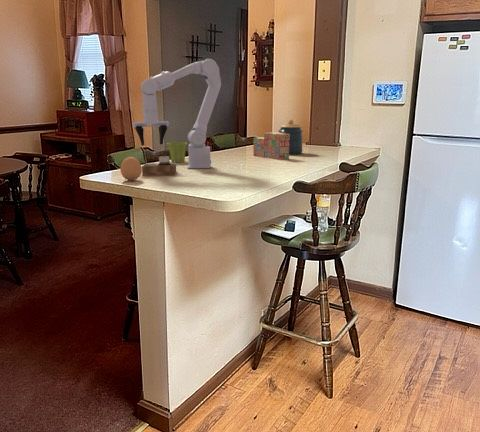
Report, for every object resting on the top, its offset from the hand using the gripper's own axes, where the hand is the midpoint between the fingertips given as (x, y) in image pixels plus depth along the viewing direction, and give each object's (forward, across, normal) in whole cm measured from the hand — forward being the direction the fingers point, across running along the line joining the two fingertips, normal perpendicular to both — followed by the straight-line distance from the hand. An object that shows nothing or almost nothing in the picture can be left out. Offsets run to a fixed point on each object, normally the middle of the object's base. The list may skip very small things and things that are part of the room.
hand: (152, 144), depth 193 cm
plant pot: (+10, -16, -20) cm, 27 cm away
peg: (+7, -1, +13) cm, 15 cm away
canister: (+11, -80, -27) cm, 85 cm away
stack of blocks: (+11, -63, -17) cm, 66 cm away
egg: (+10, +14, +25) cm, 30 cm away
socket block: (+10, +1, +12) cm, 16 cm away
